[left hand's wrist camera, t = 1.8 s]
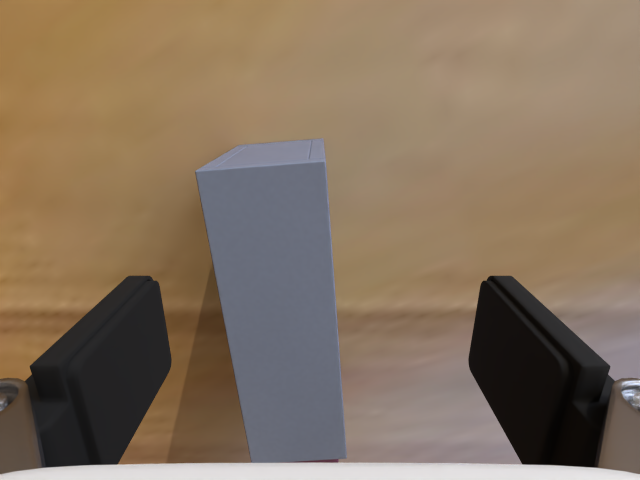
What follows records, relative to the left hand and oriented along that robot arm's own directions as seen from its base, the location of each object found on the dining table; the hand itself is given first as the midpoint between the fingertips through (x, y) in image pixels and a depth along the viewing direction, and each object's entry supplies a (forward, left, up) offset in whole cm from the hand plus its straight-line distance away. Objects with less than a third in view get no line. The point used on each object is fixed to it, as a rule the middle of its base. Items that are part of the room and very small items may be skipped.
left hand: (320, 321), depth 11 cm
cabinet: (+2, -6, -19) cm, 20 cm away
